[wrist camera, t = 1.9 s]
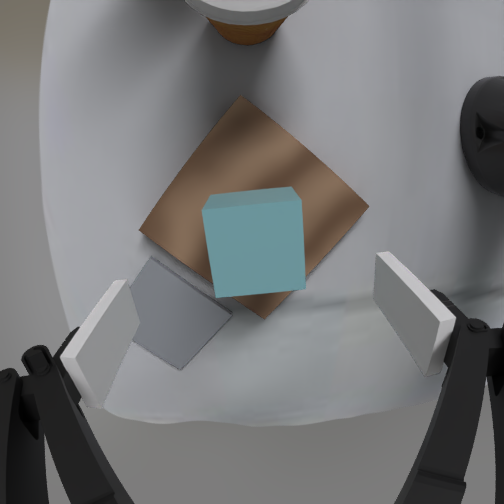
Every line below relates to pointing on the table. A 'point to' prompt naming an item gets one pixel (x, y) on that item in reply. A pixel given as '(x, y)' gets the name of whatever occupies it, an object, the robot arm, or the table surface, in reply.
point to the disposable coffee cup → (246, 17)
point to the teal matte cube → (255, 241)
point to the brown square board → (245, 179)
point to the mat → (173, 314)
